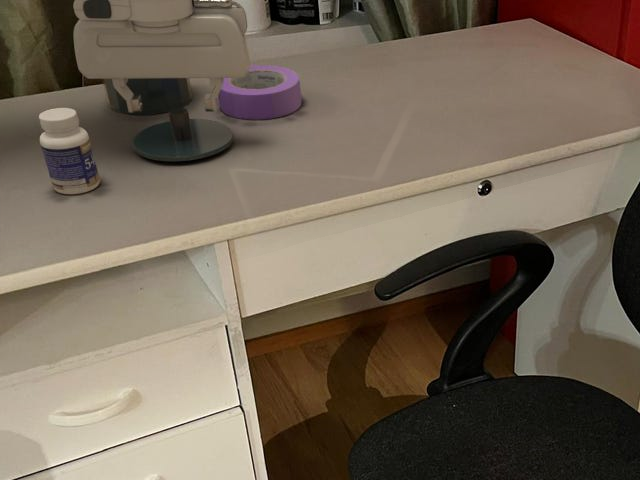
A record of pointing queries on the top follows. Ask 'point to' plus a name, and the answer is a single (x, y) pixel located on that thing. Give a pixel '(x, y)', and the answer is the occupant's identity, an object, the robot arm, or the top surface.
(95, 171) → the pill bottle
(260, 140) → the top surface
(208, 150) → the canister lid
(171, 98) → the canister
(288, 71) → the tape roll
